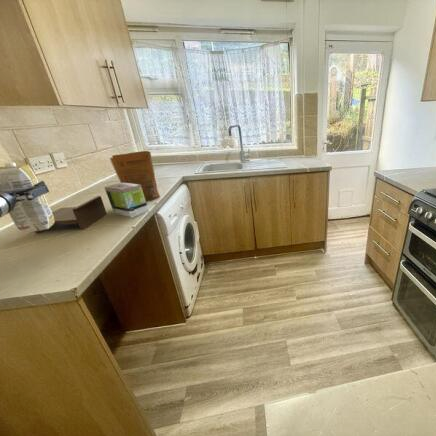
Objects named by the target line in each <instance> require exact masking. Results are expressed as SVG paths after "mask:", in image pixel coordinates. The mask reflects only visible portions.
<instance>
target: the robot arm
mask: <svg viewBox="0 0 436 436" xmlns="http://www.w3.org/2000/svg"><path fill="white" fill-rule="evenodd" d="M15 193H16V194H15ZM48 193H50V190H49V188H48V186H47V184H46V183H45V181H44V180H40V181H38V183H37V184H36V185H34V187H31V188H27V189H24V190H14V191H11V192H3V191H0V219H2V218H3V217H5V216H6V215H8V214H9V212H11V211H12V210H13V209H14V208H15V205H16V203H17V202H20V201H23V200H24V199H27V200H28V201H31V200H33V199H34V198H36V197H39V196H41V195H44V196H45V195H46V194H48Z"/></svg>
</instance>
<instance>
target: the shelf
mask: <svg viewBox="0 0 436 436" xmlns="http://www.w3.org/2000/svg"><path fill="white" fill-rule="evenodd" d="M52 214H53V217H54V224H53V225H52V226H54V225H65V224H78V227H79V229H80V231H81V230H82V231H85V230H86V229H88V228H89V227H90V226H92V225H93V224H94V223H96V222H97V221H99V220H101V219H102V218H103V217H105V216H106V215H108V213H107V210H106V207H105V204H104V202H103V198H102V196H101V195H97V196H95V197H93V198H91V199H90V200H88V201H85V202H84V203H81V204H80V205H78V206H68V207H60V208H57V209H56V210H54V211H52ZM41 232H44V230H39V231H34V233H35V234H39V233H41Z"/></svg>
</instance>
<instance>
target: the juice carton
mask: <svg viewBox="0 0 436 436" xmlns="http://www.w3.org/2000/svg"><path fill="white" fill-rule="evenodd" d="M3 165H4V166H0V191H3V192H11V191H14V190H24V189H27V188H31V187H34V185H36V184H37V183H39V181H38V179H37V176H36V175H35V172H34V171H33V169H32V168H31V167H30V165H29V164H21V165H16V162H6V163H4V164H3ZM15 194H16V193H15ZM52 212H53V211H52V209H51V207H50V205H49V203H48V200H47V199H46V196H45V194H44V195H41V196H39V197H36V198H34V199H33V200H31V201H28V200H27V199H24V200H23V201H20V202H17V203H16V205H15V208H14V209H13V210H12V211H11V212H9V213H8V214H9V216H10V218H11V219H12V222H13V224H14V225H15V227H16V228H17V230H18V231H19V232H20V233H21V234H27V233H33V232H35V231H39V230H43V231H45V230H49V229H50V228H51V227H53V226H54V225H55V224H54V217H53V214H52ZM53 224H54V225H53Z"/></svg>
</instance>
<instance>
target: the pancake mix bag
mask: <svg viewBox="0 0 436 436" xmlns="http://www.w3.org/2000/svg"><path fill="white" fill-rule="evenodd" d="M109 159H110V163H111V165H112V167H113V169H114V172H115V174H116V175H117V178H118V180H119V183H123V182H125V183H133V184H140V185H141V187H142V191H143V194H144V197H145V200H146V202H147V201H152V200H157V199H159V198H161V195H160V193H159V190H158V186H157V185H158V184H157V181H156V176H155V168H154V164H153V158H152V152H151V151H149V150H143V151H135V152H133V151H132V152H129V153H121V154H114V155H112V157H109Z"/></svg>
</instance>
